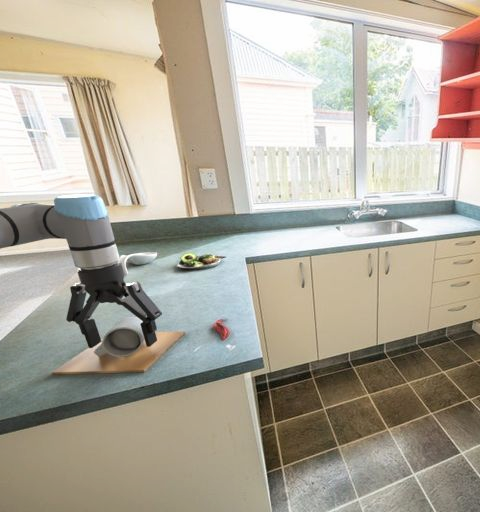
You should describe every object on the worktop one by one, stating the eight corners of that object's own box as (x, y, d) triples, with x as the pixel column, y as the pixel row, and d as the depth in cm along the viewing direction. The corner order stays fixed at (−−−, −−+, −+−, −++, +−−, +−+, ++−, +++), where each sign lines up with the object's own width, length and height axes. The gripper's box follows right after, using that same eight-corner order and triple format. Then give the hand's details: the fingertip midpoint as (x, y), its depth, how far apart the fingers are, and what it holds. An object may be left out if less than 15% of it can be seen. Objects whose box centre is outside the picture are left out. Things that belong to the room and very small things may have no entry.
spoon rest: (135, 259, 142) (131, 245, 139) (163, 257, 144) (159, 243, 142) (105, 277, 120) (99, 261, 118) (138, 275, 123) (134, 258, 121)
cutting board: (52, 374, 66) (51, 372, 66) (111, 334, 81) (110, 332, 81) (144, 372, 67) (144, 370, 67) (185, 333, 82) (185, 331, 82)
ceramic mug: (153, 335, 80) (145, 310, 78) (146, 352, 73) (137, 325, 71) (103, 346, 76) (93, 319, 73) (90, 365, 69) (78, 336, 66)
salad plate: (227, 255, 149) (226, 246, 147) (227, 266, 134) (225, 256, 132) (182, 260, 141) (180, 251, 139) (176, 273, 125) (173, 262, 124)
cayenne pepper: (214, 321, 89) (213, 315, 88) (231, 318, 90) (230, 312, 90) (208, 343, 78) (207, 336, 77) (228, 339, 80) (227, 333, 79)
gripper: (166, 258, 71) (184, 334, 78) (57, 259, 70) (85, 336, 77) (144, 269, 64) (165, 352, 71) (22, 270, 63) (56, 354, 69)
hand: (123, 344), depth 74 cm, fingers open, 13 cm apart
